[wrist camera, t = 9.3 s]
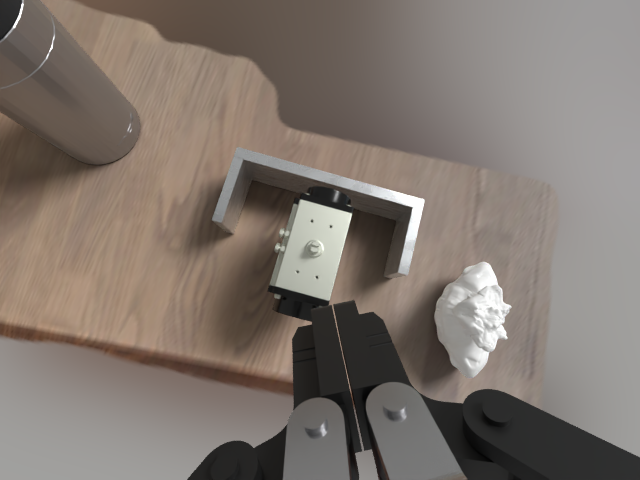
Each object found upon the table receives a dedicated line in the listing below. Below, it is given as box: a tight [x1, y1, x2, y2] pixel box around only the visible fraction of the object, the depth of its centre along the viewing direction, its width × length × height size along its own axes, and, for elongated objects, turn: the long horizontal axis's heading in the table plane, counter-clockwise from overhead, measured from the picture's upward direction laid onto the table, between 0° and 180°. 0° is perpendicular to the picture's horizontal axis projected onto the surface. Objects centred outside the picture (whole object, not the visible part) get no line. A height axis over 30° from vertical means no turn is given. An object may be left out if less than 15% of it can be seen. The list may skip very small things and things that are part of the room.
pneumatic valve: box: [268, 186, 354, 322], centre depth 33 cm, size 6×12×12 cm, turn 165°
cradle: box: [212, 147, 425, 279], centre depth 36 cm, size 20×8×6 cm, turn 74°
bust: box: [434, 262, 511, 378], centre depth 34 cm, size 12×8×11 cm
